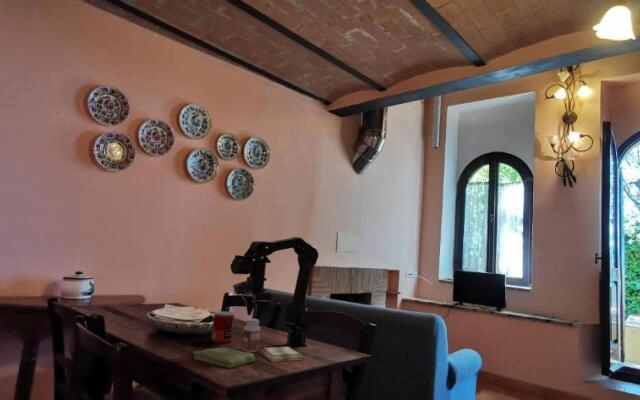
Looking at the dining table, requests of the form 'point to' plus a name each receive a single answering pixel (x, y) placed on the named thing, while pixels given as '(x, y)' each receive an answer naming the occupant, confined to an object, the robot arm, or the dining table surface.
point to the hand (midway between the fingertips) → (253, 317)
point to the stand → (281, 354)
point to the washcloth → (224, 357)
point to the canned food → (223, 327)
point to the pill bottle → (251, 336)
